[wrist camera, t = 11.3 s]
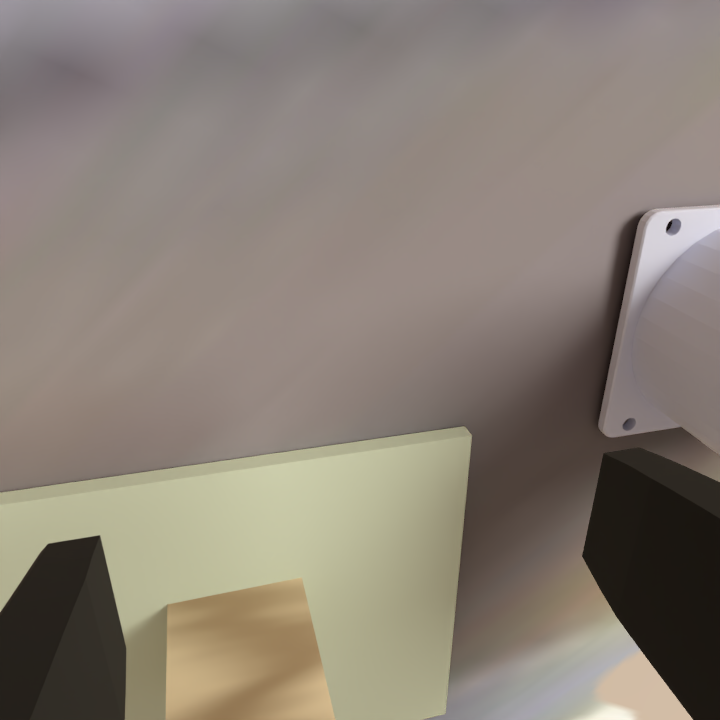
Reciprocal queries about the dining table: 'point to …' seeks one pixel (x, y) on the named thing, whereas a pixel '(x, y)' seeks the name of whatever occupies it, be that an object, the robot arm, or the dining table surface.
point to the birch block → (245, 657)
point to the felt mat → (280, 557)
